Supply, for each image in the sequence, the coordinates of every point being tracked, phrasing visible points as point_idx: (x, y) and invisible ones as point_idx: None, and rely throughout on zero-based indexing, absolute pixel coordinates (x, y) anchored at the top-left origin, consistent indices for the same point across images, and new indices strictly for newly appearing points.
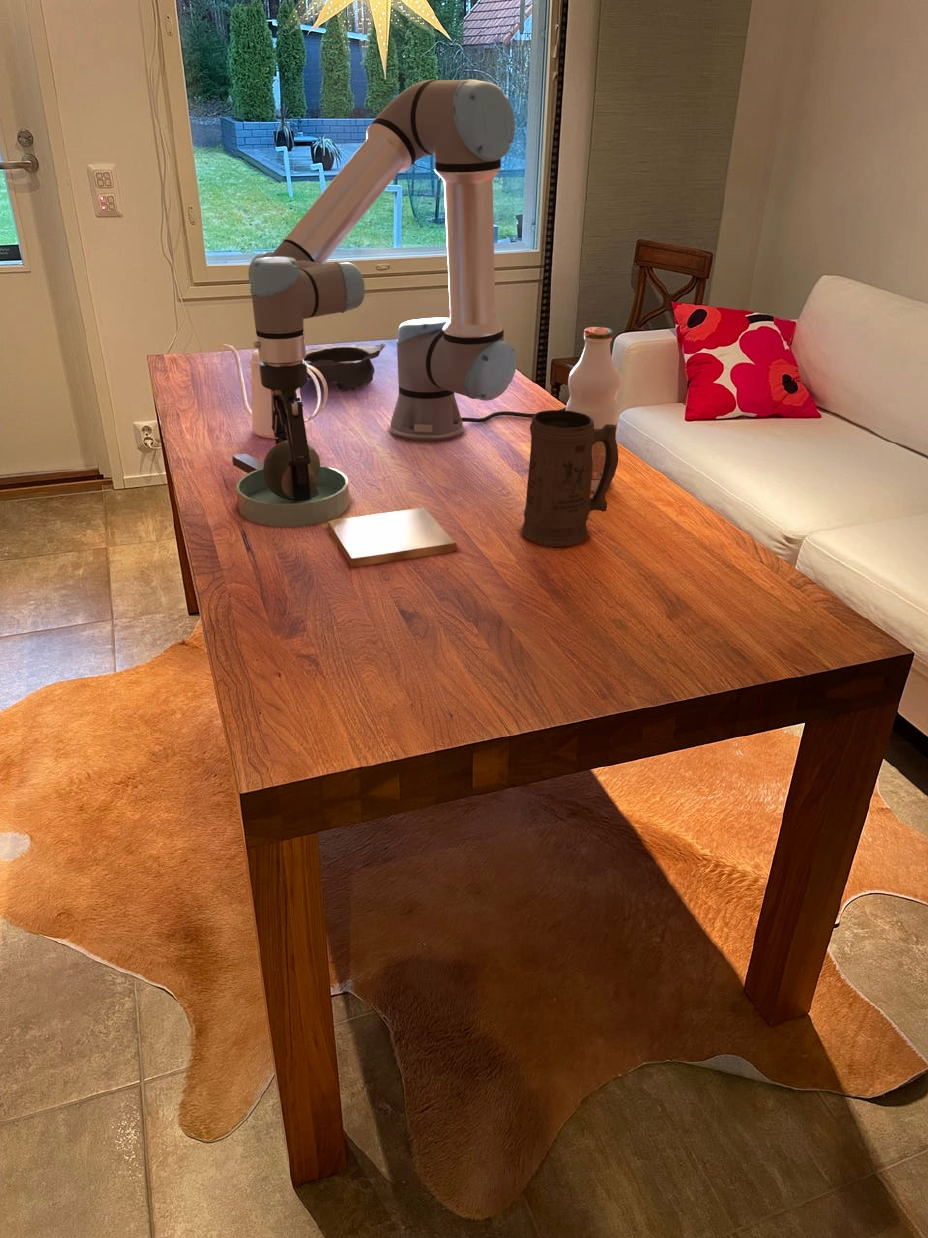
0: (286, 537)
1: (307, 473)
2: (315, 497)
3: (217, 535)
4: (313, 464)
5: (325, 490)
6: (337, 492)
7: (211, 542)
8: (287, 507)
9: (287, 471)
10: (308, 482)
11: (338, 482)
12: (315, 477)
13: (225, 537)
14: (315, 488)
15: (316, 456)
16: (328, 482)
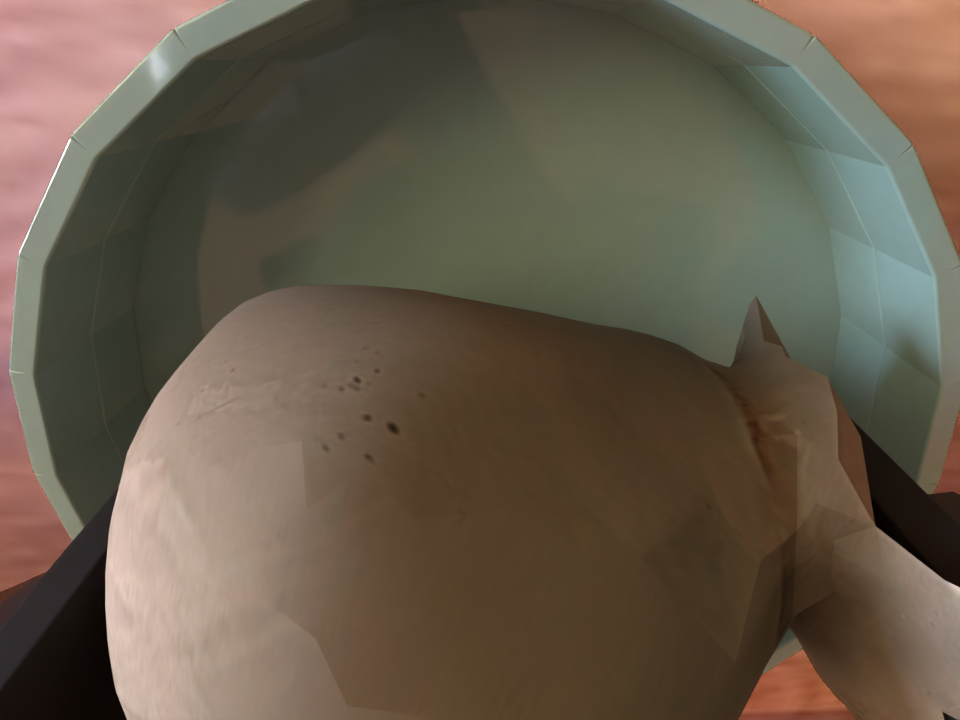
0: (945, 462)
1: (953, 534)
2: (414, 249)
3: (756, 700)
4: (653, 440)
5: (279, 155)
6: (859, 125)
7: (817, 717)
8: None
9: (873, 714)
10: (884, 460)
11: (291, 35)
12: (837, 398)
13: (793, 678)
14: (785, 349)
15: (472, 408)
16: (194, 123)
